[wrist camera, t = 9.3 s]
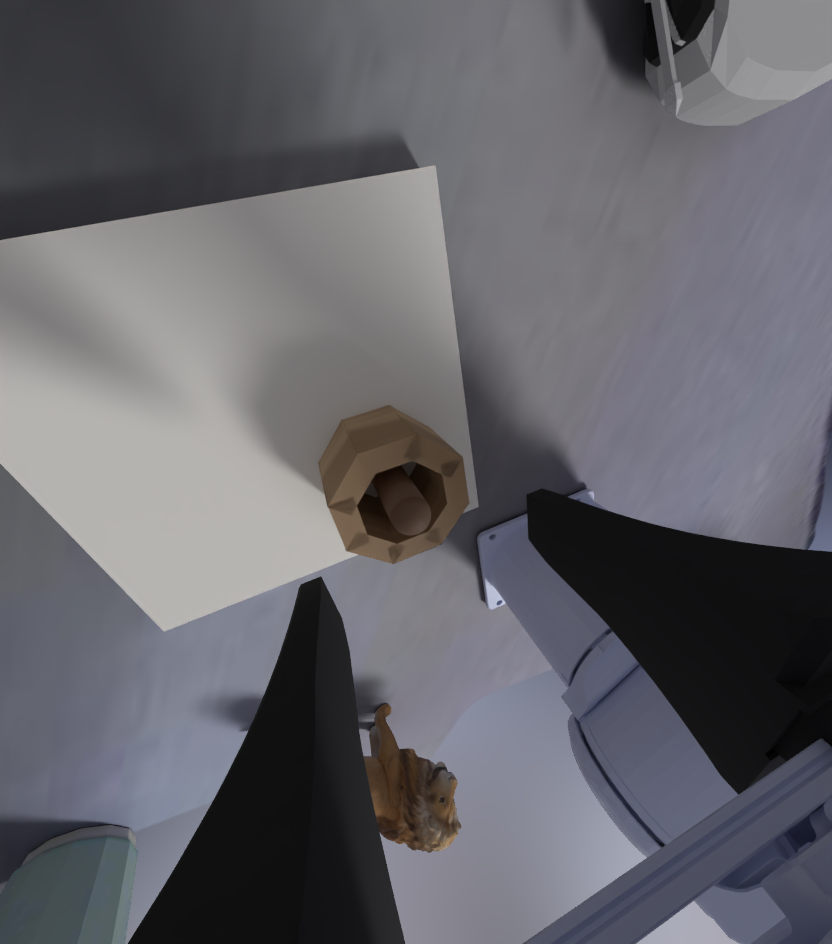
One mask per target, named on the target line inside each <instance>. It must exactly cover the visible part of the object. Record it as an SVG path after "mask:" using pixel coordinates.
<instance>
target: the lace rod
mask: <svg viewBox="0 0 832 944" xmlns="http://www.w3.org/2000/svg"><path fill="white" fill-rule="evenodd" d="M372 483H373V485H374V487H375V489H376V491H377V494H378V496H379V498H380V500H381V502H382V504H383V506H384V508H385V510H386V512H387V514H388V517H389V519H390V521H391V523H392V525H393V526H394V528H395V529H396V530H397V531H398V532H400V533H402V534H404V535H417V534H419V533H421V532H423V531H424V530H425V529H426V528H427V526H428V525H429V523H430V520H431V510H430V507H429V505H428V503H427V501H426V500H425V499H424V497H423V496H422V494H421V493H420V491H419V490H418V489H417V487H416V486H415V484H414V483H413V481H412V480H411V479H410V477H409V476H408V474H407V473H406V472H405V470H404V469H403V467H402V466H401V465H399V466H397V467H394V468H391V469H388V470H385V471H382V472H379V473H377V474H375V476H374V478H373V479H372Z"/></svg>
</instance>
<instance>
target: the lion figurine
mask: <svg viewBox="0 0 832 944" xmlns="http://www.w3.org/2000/svg"><path fill="white" fill-rule="evenodd" d="M390 713H391V707H390V706H389V705H388V704H384V705H382V706H380V707H379V708H378V709H377V711H376V713H375V718H374V721H375V724H376V725H374V726H373V727H371V729H370V734H369V737H370V745H371V755H372V756H363V757H364V762H365V767H366V772H367V777H368V781H369V786H370V791H371V796H372V800H373V805H374V810H375V814H376V819H377V824H378V828H379V832H380V833H381V834H382V835H383V836H384V837H385V838H386V839H388V840H391V841H395V842H396V843H398V844H402V843H406V844H407V845H408V847H409V848H411V849H412V850H417V849H418V850H421V851H427V852H432V851H441V850H444V849H445V848H446V847H449V846H450V844H451V843H452V842H453V840H454V838H455V837H456V836H457V835H458V830H459V829H460V828H461V824H460V823H459V821H458V817H457V812H456V807H455V802H454V798H453V797H454V793H455V789H456V786H457V779H456V778H455V776H454V775H453V773H452V772H448V771H447V768H446V766H445V764H444V763H443V762H438V763H437V764H436V765H435V764H434V763H433V762H431V761H430V760H428V759H424V758H421V757H417V755H416V754H415V751H414V750H413V749H408V748H407V749H399V748H398V745H397V743H396V740H395V738H394V735H393V733H392V731H391V729H390V728H389V726H388V724H387V723H386V719H385V717H387V716H388V715H389V714H390Z"/></svg>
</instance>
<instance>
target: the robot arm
mask: <svg viewBox="0 0 832 944" xmlns="http://www.w3.org/2000/svg"><path fill="white" fill-rule="evenodd" d="M593 500H594V492H593V491H592V490H590V489H585V490H582V491H580V492H578V493H575V494H573V495H570V496H568V497H566V496H563V495H560V494H557V493H555V492H551V491H548V490H545V489H540V490H537V491H535V492H532V493H530V494H527V514H524V515H522V516H519V517H517V518H515V519H512V520H510V521H507V522H505V523H503V524H500V525H498V526H495V527H493V528H490V529H488V530H486V531H483V532H481V533H480V534H479V535H478V537H477V543H478V550H479V557H480V564H481V572H482V579H483V586H484V593H485V600H486V605H487V607H488V609H495V608H497V607H499V606H502V605H504V604H507V605H508V607H509V608H510V610H511V611H512V612H513V614H514V615H515V616H516V618H517V619H518V621H519V622H520V623H521V625H522V626H523V627H524V629H525V630H526V632H527V633H528V634H529V636H530V637H531V638H532V640H533V641H534V643H535V644H536V645H537V647H538V648H539V649H540V651H541V652H542V654H543V655H544V656H545V658H546V659H547V660H548V662H549V663H550V665H551V666H552V667H553V669H554V670H555V671H556V673H557V674H558V676H559V677H560V678H561V680H562V681H563V682H564V684H565V685H566V686H567V688H568V689H567V690H566V692H565V693H564V694H563V695H562V698H563V700H564V701H565V703H566V704H567V706H568V707H569V709H570V710H571V712H572V713H573V714H572V715H571V716H570V718H569V720H568V730H569V736H570V741H571V747H572V751H573V753H574V756H575V759H576V761H577V764H578V766H579V768H580V770H581V772H582V774H583V776H584V778H585V780H586V781H587V783H588V785H589V787H590V788H591V790H592V792H593V793H594V795H595V796H596V798H597V799H598V801H599V802H600V804H601V805H602V807H603V808H604V810H605V811H606V812H607V814H608V815H609V816H610V818H611V819H612V820H613V822H614V823H615V824H616V825H617V827H618V828H619V829H620V830H621V832H623V834H624V835H625V836H626V837H627V838H628V840H629V841H630V842H631V843H632V844H633V845H634V846H635V847H636V848H637V849H638V850H639V851H640V852H641V853H642V854H644V855H645V856H646V857H647V858H646V859H645V860H643V861H642V862H641V863H639V864H638V865H636V866H635V867H633V868H632V869H630V870H629V871H628V872H626V873H625V874H623V875H622V876H620V877H619V878H617V879H616V880H614V881H613V882H612V883H610V884H609V885H607V886H606V887H604V888H603V889H601V890H600V891H598V892H597V893H596V894H594V895H593V896H591V897H590V898H589V899H587V900H585V901H584V902H583V903H581V904H580V905H578V906H577V907H575V908H574V909H572V910H571V911H570V912H568V913H567V914H565V915H564V916H562V917H561V918H559V919H558V920H557V921H555V922H554V923H552V924H551V925H549V926H548V927H546V928H545V929H543V930H542V931H540V932H539V933H538V934H536V935H535V936H533V937H532V938H530V939H529V940H527V941H526V942H525V943H523V944H636V943H637V942H639V941H640V940H641V939H643V938H644V937H645V936H647V935H648V934H649V933H651V932H652V931H654V930H655V929H656V928H658V927H659V926H660V925H662V924H663V923H664V922H666V921H667V920H668V919H670V918H671V917H672V916H673V915H675V914H676V913H678V912H679V911H680V910H682V909H683V908H684V907H686V906H687V905H688V904H690V903H691V902H692V901H695V902H696V903H697V904H698V905H699V906H700V908H701V909H702V910H703V911H704V912H705V913H706V914H707V915H708V916H710V917H711V918H713V919H714V920H715V921H716V923H717V924H718V925H719V926H720V927H721V929H722V930H723V931H724V932H725V933H726V935H727V936H728V937H729V938H730V939H732V940H734V941H736V942H738V943H740V944H832V552H827V551H814V550H802V549H792V548H784V547H775V546H766V545H759V544H752V543H744V542H738V541H732V540H726V539H720V538H714V537H708V536H703V535H698V534H693V533H688V532H684V531H680V530H675V529H671V528H666V527H662V526H658V525H654V524H651V523H647V522H643V521H640V520H636V519H633V518H629V517H626V516H623V515H620V514H616V513H613V512H610V511H608V510H606V509H605V508H603V507H602V506H600V505H599V504H597V503H596V502H594V501H593ZM491 535H492V536H491ZM128 944H405V941H404V936H403V932H402V928H401V924H400V920H399V916H398V911H397V907H396V903H395V899H394V895H393V890H392V886H391V882H390V877H389V873H388V869H387V864H386V860H385V855H384V851H383V846H382V842H381V837H380V833H379V828H378V824H377V819H376V814H375V810H374V805H373V800H372V796H371V791H370V786H369V781H368V777H367V772H366V767H365V762H364V757H363V752H362V747H361V740H360V734H359V727H358V718H357V709H356V701H355V692H354V684H353V675H352V667H351V659H350V651H349V646H348V642H347V637H346V633H345V629H344V625H343V621H342V618H341V615H340V613H339V611H338V609H337V607H336V605H335V603H334V601H333V599H332V597H331V595H330V593H329V591H328V589H327V587H326V585H325V583H324V581H323V579H322V577H318V578H316V579H313V580H311V581H308V582H306V583H303V584H301V586H300V587H299V590H298V594H297V598H296V602H295V606H294V610H293V613H292V617H291V620H290V624H289V627H288V630H287V633H286V636H285V639H284V642H283V645H282V649H281V652H280V655H279V657H278V660H277V663H276V666H275V668H274V671H273V673H272V676H271V679H270V681H269V684H268V687H267V689H266V692H265V694H264V697H263V699H262V701H261V704H260V706H259V709H258V711H257V713H256V715H255V718H254V720H253V722H252V724H251V726H250V729H249V731H248V733H247V735H246V737H245V739H244V742H243V744H242V746H241V748H240V750H239V752H238V754H237V756H236V758H235V760H234V762H233V764H232V766H231V768H230V770H229V772H228V774H227V776H226V778H225V780H224V781H223V783H222V785H221V787H220V789H219V791H218V793H217V795H216V797H215V798H214V800H213V802H212V804H211V806H210V808H209V809H208V811H207V813H206V815H205V816H204V818H203V820H202V822H201V823H200V825H199V827H198V829H197V830H196V832H195V834H194V836H193V837H192V839H191V841H190V843H189V844H188V846H187V848H186V850H185V851H184V853H183V855H182V857H181V858H180V860H179V862H178V864H177V865H176V867H175V869H174V870H173V872H172V874H171V875H170V877H169V879H168V880H167V882H166V884H165V885H164V887H163V888H162V890H161V892H160V893H159V895H158V897H157V898H156V900H155V901H154V903H153V904H152V906H151V908H150V909H149V911H148V912H147V914H146V915H145V917H144V919H143V920H142V922H141V923H140V925H139V927H138V928H137V930H136V931H135V933H134V935H133V936H132V938H131V939H130V941H129V942H128Z"/></svg>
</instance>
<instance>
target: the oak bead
mask: <svg viewBox="0 0 832 944" xmlns="http://www.w3.org/2000/svg"><path fill="white" fill-rule="evenodd" d="M411 461H414V462H416V466H415V468H414V469H413V471H412V473H411V474H410V476H409V477H410V479H411V480H412V481H413V483H414V484H415V486H416V487H417V489H418V490H419V491H420V493H421V494H422V496H423V497H424V499H425V500H426V501H427V503H428V505H429V507H430V510H431V520H430V523H429V525H428V526H427V528H426V529H425V530H424V531H423V532H421V533H419V534H417V535H404V534H402V533H400V532H398V531H397V530H396V529H395V528H394V526H393V525H392V523H391V521H390V519H389V517H388V514H387V512H386V510H385V508H384V506H383V504H382V502H381V500H380V498H379V496H378V497H373V496H371V495H368V494H365V491H366V489H367V488H368V486H369V484H370V483H371V481H372V479H373V478H374V476H375V474H377V473H379V472H382V471H385V470H388V469H391V468H394V467H397V466H399V465H402V464H405V463H408V462H411ZM318 465H319V469H320V474H321V479H322V484H323V489H324V494H325V498H326V503H327V507H328V508H329V510H330V513H331V515H332V518H333V520H334V522H335V525H336V527H337V530H338V532H339V534H340V537H341V539H342V541H343V544H344V546H345V550H346V551H347V552H351V553H355V554H359V555H362V556H366V557H370V558H374V559H377V560H381V561H385V562H388V563H392V564H395V563H397V562H399V561H402V560H404V559H407V558H409V557H412V556H414V555H416V554H419V553H421V552H424V551H426V550H429V549H431V548H433V547H436V546H438V545H441V544H442V543H443V541H444V540H445V538H446V537H447V535H448V534H449V532H450V531H451V529H452V528H453V526H454V525H455V524H456V522H457V521H458V519H459V518H460V516H461V515H462V513H463V512H464V510H465V509H466V507H467V506H468V505H469V503H470V502H469V497H468V490H467V483H466V476H465V469H464V462H463V457H462V456H461V455H460V454H459V453H458V452H457V451H456V450H454V449H453V448H452V447H451V446H450V445H449V444H448V443H447V442H445V441H444V440H443V439H442V438H441V437H440V436H439V435H438V434H436V433H435V432H434V431H433V430H432V429H431V428H430V427H429V426H426V425H424V424H423V423H421V422H419V421H417V420H415V419H414V418H412V417H410V416H408V415H406V414H404V413H403V412H401V411H399V410H397V409H395V408H394V407H392V406H391V405H388V406H385V407H382V408H378V409H375V410H372V411H369V412H366V413H362V414H359V415H356V416H353V417H350V418H346V419H343V420H341V422H340V424H339V425H338V427H337V429H336V431H335V433H334V435H333V437H332V438H331V440H330V442H329V444H328V446H327V448H326V450H325V451H324V453H323V455H322V457H321V459H320V461H319V462H318Z"/></svg>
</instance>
